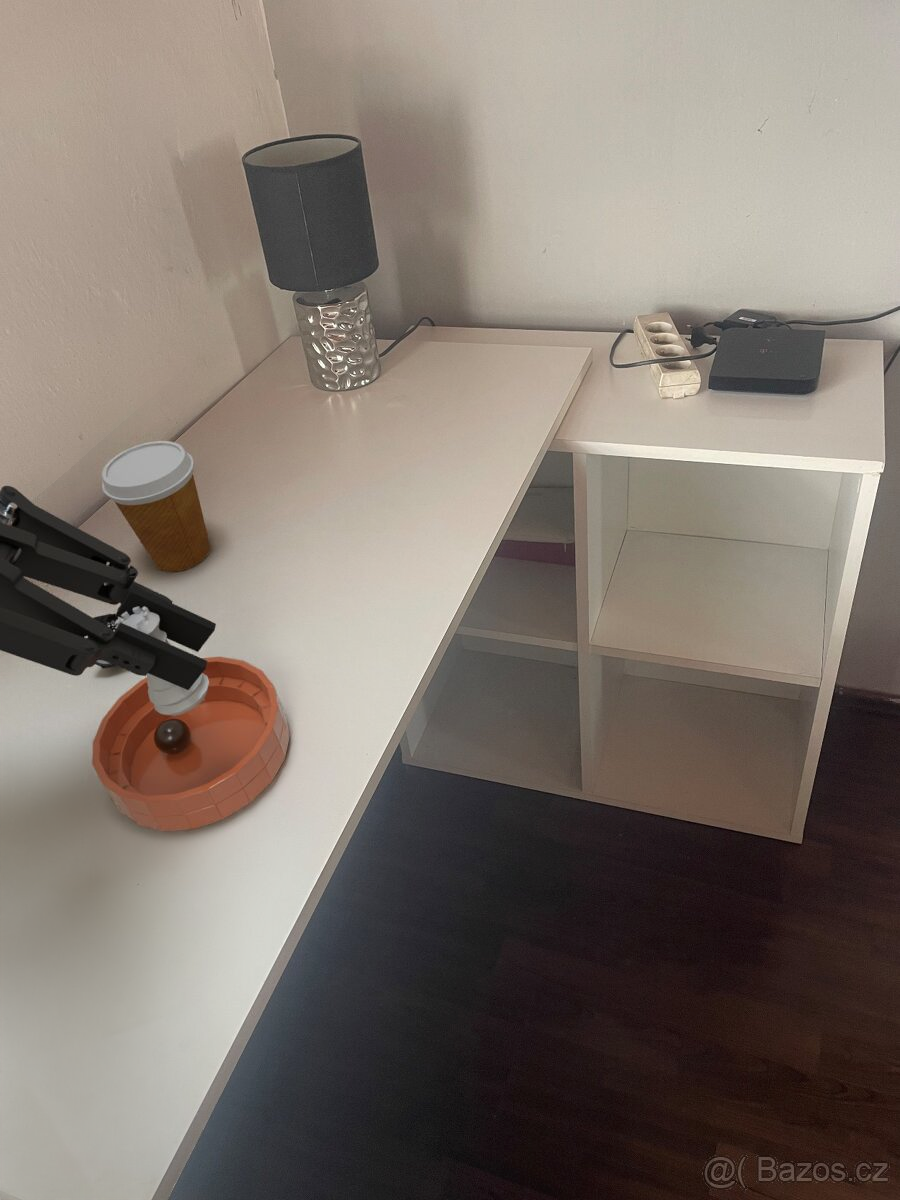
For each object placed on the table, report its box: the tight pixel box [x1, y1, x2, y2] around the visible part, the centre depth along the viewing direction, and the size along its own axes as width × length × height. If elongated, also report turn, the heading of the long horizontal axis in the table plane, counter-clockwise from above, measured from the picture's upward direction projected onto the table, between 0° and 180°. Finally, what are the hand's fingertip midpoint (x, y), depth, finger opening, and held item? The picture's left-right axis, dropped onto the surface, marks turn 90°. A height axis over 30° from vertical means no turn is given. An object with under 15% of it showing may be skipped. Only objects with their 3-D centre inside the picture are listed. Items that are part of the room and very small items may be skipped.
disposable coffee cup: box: [101, 440, 211, 573], centre depth 93 cm, size 10×10×12 cm
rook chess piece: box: [115, 606, 209, 716], centre depth 63 cm, size 4×4×8 cm
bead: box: [154, 719, 191, 754], centre depth 73 cm, size 3×3×3 cm
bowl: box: [91, 656, 290, 832], centre depth 72 cm, size 15×15×4 cm
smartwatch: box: [87, 613, 120, 669], centre depth 83 cm, size 4×5×5 cm
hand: (201, 656), depth 64 cm, fingers closed on rook chess piece, 3 cm apart
